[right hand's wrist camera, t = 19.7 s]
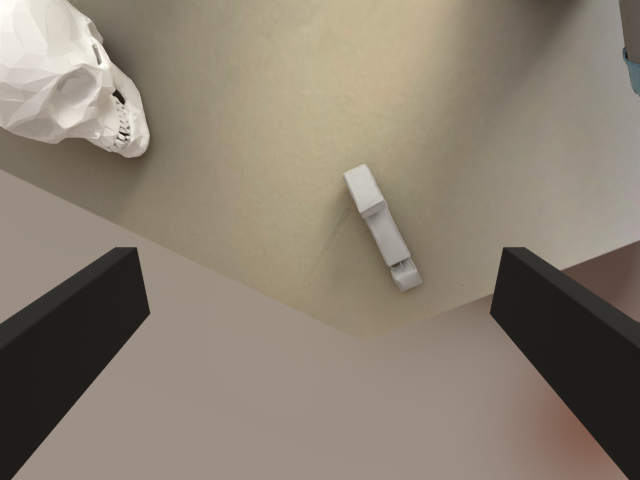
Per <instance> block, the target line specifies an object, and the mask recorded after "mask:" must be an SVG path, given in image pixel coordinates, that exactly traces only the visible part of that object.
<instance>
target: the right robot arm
mask: <svg viewBox="0 0 640 480" xmlns="http://www.w3.org/2000/svg"><path fill="white" fill-rule="evenodd" d="M619 4H620V12H621V20H622V27H623V35H624V42H625V47H624V49H623V59H624V61H625V62H626V64H627V65H628V70H629V75H630V80H631V85H632V88H633V90H634V92H635V93H636V94H638V95H639V96H640V0H619ZM149 314H150V310H149V305H148V300H147V295H146V290H145V285H144V281H143V276H142V271H141V266H140V261H139V256H138V251H137V248H136V247H115V248H114V249H112V250H111V251H109V252H108V253H106V254H105V255H103V256H102V257H100V258H99V259H97V260H96V261H94V262H93V263H91V264H90V265H88V266H87V267H85V268H84V269H82V270H81V271H79V272H78V273H76V274H75V275H73V276H72V277H70V278H69V279H67V280H66V281H64V282H63V283H61V284H60V285H58V286H57V287H55V288H54V289H52V290H51V291H49V292H47V293H46V294H44V295H43V296H41V297H40V298H39V299H37V300H35V301H34V302H32V303H31V304H29V305H28V306H26V307H25V308H23V309H22V310H20V311H19V312H17V313H16V314H14V315H13V316H12V317H10V318H8V319H7V320H5V321H4V322H3V323H1V324H0V480H11V479H12V478H13V477H14V475H15V474H16V473H17V472H18V471H19V469H20V468H21V467H22V466H23V465H24V463H25V462H26V461H27V460H28V459H29V458H30V456H31V455H32V454H33V453H34V452H35V450H36V449H37V448H38V447H39V446H40V444H41V443H42V442H43V441H44V440H45V438H46V437H47V436H48V435H49V434H50V433H51V431H52V430H53V429H54V428H55V427H56V425H57V424H58V423H59V422H60V421H61V419H62V418H63V417H64V416H65V415H66V413H67V412H68V411H69V410H70V409H71V407H72V406H73V405H74V404H75V403H76V401H77V400H78V399H79V398H80V397H81V396H82V394H83V393H84V392H85V391H86V389H87V388H88V387H89V386H90V385H91V384H92V382H93V381H94V380H95V379H96V378H97V376H98V375H99V374H100V373H101V372H102V370H103V369H104V368H105V367H106V366H107V365H108V363H109V362H110V361H111V360H112V359H113V357H114V356H115V355H116V354H117V353H118V351H119V350H120V349H121V348H122V347H123V345H124V344H125V343H126V342H127V341H128V339H129V338H130V337H131V336H132V335H133V333H134V332H135V331H136V330H137V329H138V328H139V326H140V325H141V324H142V323H143V321H144V320H145V319H146V318H147V317H148V316H149ZM490 314H491V316H492V317H493V318H494V319H495V320H496V322H497V323H498V324H499V325H500V326H501V327H502V329H503V330H504V331H505V332H506V333H507V335H508V336H509V337H510V338H511V339H512V341H513V342H514V343H515V344H516V345H517V347H518V348H519V349H520V350H521V351H522V353H523V354H524V355H525V356H526V357H527V359H528V360H529V361H530V362H531V363H532V364H533V366H534V367H535V368H536V369H537V370H538V372H539V373H540V374H541V375H542V376H543V378H544V379H545V380H546V381H547V382H548V384H549V385H550V386H551V387H552V388H553V390H554V391H555V392H556V393H557V394H558V396H559V397H560V398H561V399H562V400H563V401H564V403H565V404H566V405H567V406H568V407H569V409H570V410H571V411H572V412H573V413H574V415H575V416H576V417H577V418H578V419H579V421H580V422H581V423H582V424H583V425H584V427H585V428H586V429H587V430H588V431H589V432H590V434H591V435H592V436H593V437H594V438H595V440H596V441H597V442H598V443H599V444H600V446H601V447H602V448H603V449H604V450H605V452H606V453H607V454H608V455H609V456H610V458H611V459H612V460H613V461H614V462H615V464H616V465H617V466H618V467H619V468H620V469H621V471H622V472H623V473H624V474H625V475H626V477H627V478H628V479H629V480H640V323H639V322H637V321H635V320H633V319H632V318H630V317H629V316H627V315H626V314H624V313H623V312H621V311H620V310H618V309H617V308H615V307H614V306H612V305H611V304H609V303H607V302H606V301H605V300H603V299H601V298H600V297H599V296H597V295H595V294H594V293H593V292H591V291H589V290H588V289H586V288H585V287H583V286H582V285H580V284H579V283H577V282H576V281H574V280H573V279H571V278H570V277H568V276H567V275H565V274H564V273H562V272H561V271H559V270H558V269H556V268H555V267H553V266H552V265H550V264H549V263H547V262H546V261H544V260H543V259H541V258H540V257H538V256H537V255H535V254H534V253H532V252H531V251H529V250H528V249H526V248H525V247H503V251H502V256H501V261H500V266H499V271H498V276H497V281H496V285H495V290H494V295H493V300H492V305H491V310H490Z"/></svg>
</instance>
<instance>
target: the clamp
mask: <svg viewBox="0 0 640 480" xmlns="http://www.w3.org/2000/svg"><path fill="white" fill-rule="evenodd" d="M343 179H344V181H345V183H346V184H347V186H348V188H349V190H350V193H351V195H352V197H353V199H354V201H355V204H356V206H357V208H358V210H359V212H360V214H361V216H362V218H363V219H365V221H366V223H367V225H368V227H369V229H370V231H371V233H372V235H373V237H374V239H375V241H376V243H377V245H378V247H379V250H380V252H381V254H382V256H383V258H384V260H385V263H386V264H387V265H388V266H390V268H391V270H390V271H391V275H392V278H393V280H394V282H395V284H396V285H397V287H398V288H399V289H400V290H401V292H404V291H406V290H408V289H411V288H413V287H415V286H417V285H420V284H422V279H421V277H420V275H419V272H418V270H417V269H416V267H415V265H414V263H413V261H412V259H411V258H410V256H411V255H410V252H409V250H408V248H407V246H406V244H405V242H404V240H403V238H402V236H401V234H400V232H399V230H398V228H397V226H396V224H395V222H394V220H393V218H392V216H391V214H390V211H389V209H388V205H387V203H386V201H385V199H384V197H383V195H382V193H381V191H380V189H379V187H378V185H377V183H376V181H375V179H374V177H373V175H372V173H371V171H370V169H369V167H368V165H365V164H362V165H359V166H357V167H355V168H353V169H351V170H349V171H347V172H344V173H343ZM406 258H407V259H406ZM404 259H405V260H404ZM402 260H404V261H403V262H401V261H402ZM398 262H400V264H399V265H397V266H395V267H393V268H392V266H391V265H393V264H395V263H398Z"/></svg>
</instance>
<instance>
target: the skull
mask: <svg viewBox="0 0 640 480" xmlns="http://www.w3.org/2000/svg"><path fill="white" fill-rule="evenodd" d="M101 44H103V38H102V37H101V35H100V33H99V32H98V31H97V29H96V27H95V25H94V22H93V21H92V20H90V19H89V18H88V17H86V16H85V15H84V14H82V13H81V12H79V11H78V10H77V9H76V8H74V7H73V6H72V5H71V4H70V3H69V2H68V1H67V0H0V126H1V127H3V128H4V129H6V130H8V131H10V132H11V133H13V134H16V135H20V136H23V137H26V138H30V139H34V140H38V141H42V142H46V143H50V144H57V143H59V142H60V141H62V140H63V139H64V138H66V137H67V138H85V139H86V140H88V141H90V142H91V143H93V144H95V145H96V146H99V147H101V148H103V149H105V150H107V151H109V152H110V151H113V152H117V153H119V154H121V155H122V156H124V157H127V158H131V157H137V156H141V155H142V154H143V153H144V152H145V151H146V150H147V147H148V145H149V140H150V134H149V130H148V126H147V123H146V118H145V114H144V110H143V106H142V101H141V97H140V93H139V91H138V90H137V88H136V86H135V85H134V83H133V82H132V80H131V79H130V78H129V77H128V76H126V75H125V74H124V73H123V72H122V71H121V70H120V69H118V68H117V66H115V65H114V64H113V63H112V62H111V61H110V59H109V57H108V55H107V53H106V51H105V50H104V48H103V46H102V45H101ZM97 59H98V61H99V63H100V65H98V61H97ZM116 89H117V90H118V92H119V93H120V94H121V95H122V96H123V98H124V100H125V104H124V105H123V104H122V103H120V102H119V100H118V99H117V98H116V97H113V95H112V93H114V91H115V90H116ZM122 107H123V108H122ZM124 114H125V115H124ZM120 121H121V122H123V123H124V124H123V123H121V122H120ZM120 126H121V127H123V128H125V129H123V128H120ZM127 127H128V129H127ZM119 131H120V132H123V133H127V134H128V136H126V137H125V136H123V135H122V134H120V133H119ZM117 136H118V137H119V138H120V139H122V140H123V141H121V140H118V139H116V138H117ZM125 138H127V139H128V140H127V141H125Z"/></svg>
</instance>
